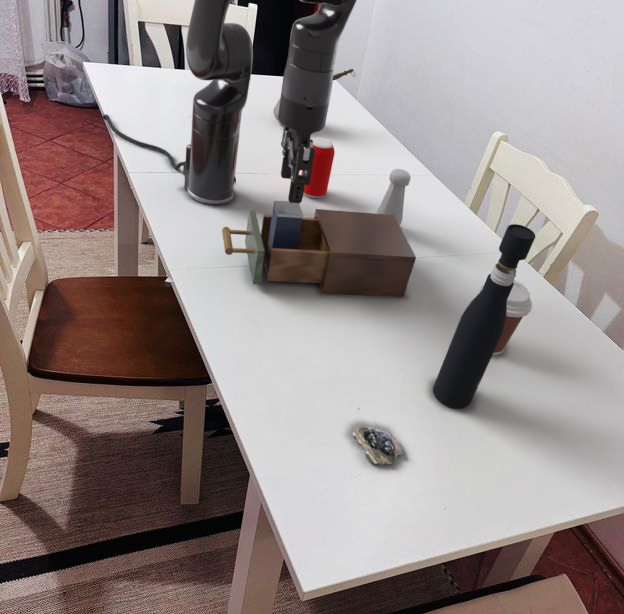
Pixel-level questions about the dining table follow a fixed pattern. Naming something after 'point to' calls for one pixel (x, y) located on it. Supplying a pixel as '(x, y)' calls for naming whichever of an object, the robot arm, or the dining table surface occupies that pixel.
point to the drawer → (282, 252)
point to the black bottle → (481, 324)
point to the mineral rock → (378, 444)
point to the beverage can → (320, 168)
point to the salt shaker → (395, 195)
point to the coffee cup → (514, 313)
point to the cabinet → (364, 254)
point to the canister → (284, 226)
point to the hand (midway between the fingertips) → (290, 189)
